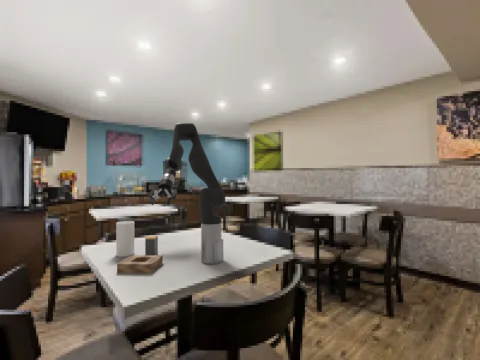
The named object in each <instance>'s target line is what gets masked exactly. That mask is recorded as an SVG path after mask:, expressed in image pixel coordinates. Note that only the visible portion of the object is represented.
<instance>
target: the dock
mask: <svg viewBox="0 0 480 360" xmlns="http://www.w3.org/2000/svg"><path fill="white" fill-rule="evenodd" d="M163 256H164V255H159V254H158V255H145V254H141V255H140V254H139V255H137V254H136V255H135V254H133V255H130V256H127V257H126V258H125V259H123V260H121V261H120V262H117V264H116V273H118V274H152V273H154V271H157V269H158V268H159V267H160V266H161V265H163V262H164V261H163V259H164V258H163Z"/></svg>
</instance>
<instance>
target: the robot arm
mask: <svg viewBox="0 0 480 360" xmlns="http://www.w3.org/2000/svg"><path fill="white" fill-rule="evenodd" d="M181 141H182V142H183V141H185V142H186V141H190V142H191V143H192V146H191V149H190V152H189V154H188V158H187V159H188V160H187V161H188V162H189V165H190V169H191V171H192V172H193V174H194V175H196V176H197V178H199V179H200V180H201V181H202V182H203V183H204V184H205V186H206V187H204V188H201V190H200V192H199V195H198V205H199V206H198V208H199V217H200V239H201V240H200V243H201V244H200V253H201V254H200V257H201V263H203V264H207V265H215V264H216V265H218V264H219V263H221V262H223V261H224V239H223V238H222V217H221V216H220V215H218V214H215V213H214V211H213V209H215V208H221V207H223V206H224V205H225V204H226V194H225V192H224V190H223V188H222V185H221V184H220V182H219V181H218V179H217V177H216V174H215V173H214V170H213V167H212V166H211V164H210V161H209V159H208V156H207V154H206V152H205V149H204V147H203V145H202V142H201V139H200V136H199V132H198V129H197V127H196V125H195V124H194V123H193V122H178V123H176V124H175V126H174V129H173V137H172V147H171V151H170V154H169V157H167V158H165V160H164V172H163V175H162V176H161V179H160V182H159V184H158V186H157V187H158V188H157V189H154V188H152V189H151V191H150V193H149V194H148V197H149V199H150V201H149V202H150V205H151V206H154V204H155V201H156V200H157V199H159V198H166V197H167V201H166V205H167V206H170V205H171V202H172V201H173V200H176V198H177V194H178V192H177V188H173V187H174V184H175V178H176V176H177V172H179V171H180V170H181V169H182V159H183V155H184V147H183V146H182V144H181ZM171 194H172V195H171Z"/></svg>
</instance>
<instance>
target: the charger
mask: <svg viewBox="0 0 480 360" xmlns="http://www.w3.org/2000/svg"><path fill="white" fill-rule="evenodd" d="M158 237H159V235H148V236H146V237H144V238H145V241H144V245H145V247H144V249H145V250H144V255H159V248H158V247H159V245H158V244H159V238H158Z"/></svg>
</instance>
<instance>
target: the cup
mask: <svg viewBox="0 0 480 360" xmlns="http://www.w3.org/2000/svg"><path fill="white" fill-rule="evenodd" d="M115 225H116V227H115V229H116V230H115V231H116V235H115V238H116V240H115V241H116V243H115V245H116V246H115V247H116V249H115V251H116V253H115V254H116V256H117V257H130V256H131V255H135V221H133V220H126V221H117V222H115Z"/></svg>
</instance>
